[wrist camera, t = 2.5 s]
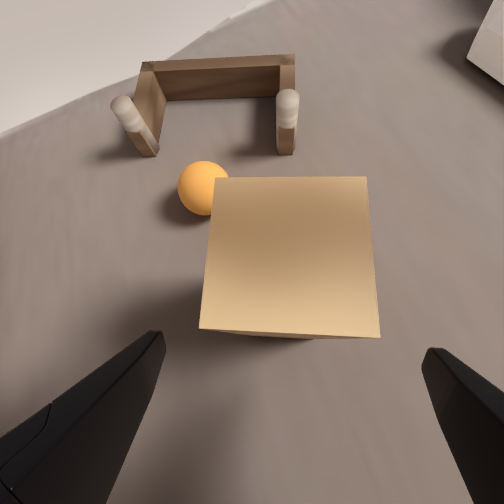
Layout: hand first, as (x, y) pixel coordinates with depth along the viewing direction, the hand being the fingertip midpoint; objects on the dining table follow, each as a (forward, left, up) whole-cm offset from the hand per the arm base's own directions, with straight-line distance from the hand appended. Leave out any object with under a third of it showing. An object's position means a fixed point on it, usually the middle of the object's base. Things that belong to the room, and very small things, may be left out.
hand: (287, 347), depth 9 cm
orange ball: (+8, +9, -8) cm, 15 cm away
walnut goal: (+16, +12, -10) cm, 22 cm away
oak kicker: (+2, +1, -10) cm, 10 cm away
